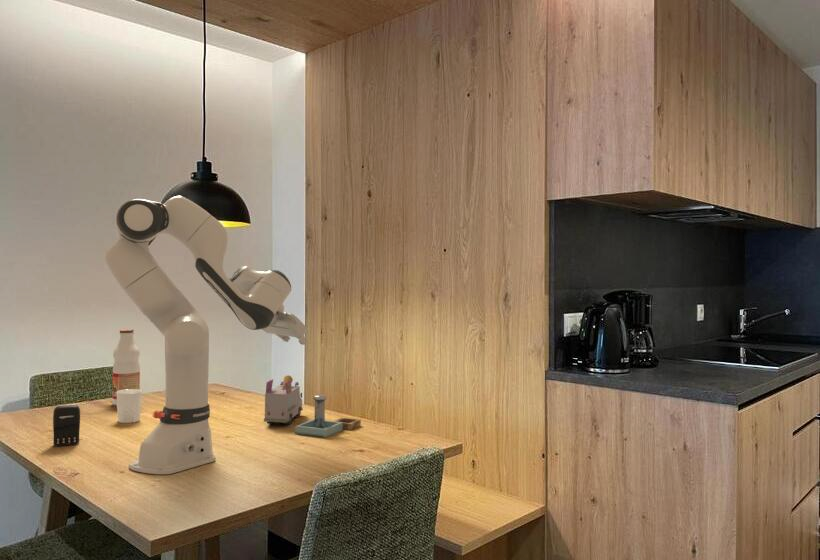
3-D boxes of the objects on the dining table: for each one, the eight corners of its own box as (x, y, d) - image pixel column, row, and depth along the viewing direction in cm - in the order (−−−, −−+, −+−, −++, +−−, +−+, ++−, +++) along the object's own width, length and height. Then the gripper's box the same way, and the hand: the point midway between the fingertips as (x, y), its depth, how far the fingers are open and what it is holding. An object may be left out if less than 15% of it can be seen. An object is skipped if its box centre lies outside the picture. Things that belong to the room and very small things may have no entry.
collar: (351, 430, 209) (351, 424, 209) (332, 427, 211) (332, 421, 211) (360, 425, 215) (360, 419, 215) (342, 423, 218) (342, 417, 218)
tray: (325, 437, 198) (326, 429, 198) (295, 434, 203) (295, 426, 203) (342, 430, 209) (342, 422, 209) (313, 426, 213) (313, 418, 213)
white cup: (141, 422, 214) (141, 392, 214) (115, 424, 211) (115, 393, 211) (141, 417, 221) (142, 388, 221) (116, 419, 218) (117, 389, 218)
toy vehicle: (304, 415, 229) (305, 373, 229) (288, 428, 210) (289, 382, 210) (279, 414, 230) (280, 372, 230) (261, 427, 211) (262, 381, 210)
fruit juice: (129, 407, 237) (130, 331, 237) (106, 405, 239) (107, 330, 239) (144, 402, 246) (145, 329, 246) (122, 400, 248) (123, 328, 248)
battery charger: (52, 448, 182) (52, 407, 182) (52, 444, 185) (53, 405, 185) (80, 445, 185) (80, 405, 185) (79, 442, 189) (80, 403, 189)
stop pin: (321, 432, 203) (322, 397, 203) (310, 430, 205) (310, 396, 204) (328, 429, 207) (329, 395, 207) (317, 427, 208) (317, 394, 208)
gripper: (295, 305, 187) (321, 337, 194) (258, 302, 202) (284, 331, 209) (281, 321, 184) (309, 352, 191) (245, 316, 199) (272, 346, 206)
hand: (295, 341), depth 200 cm, fingers open, 8 cm apart
